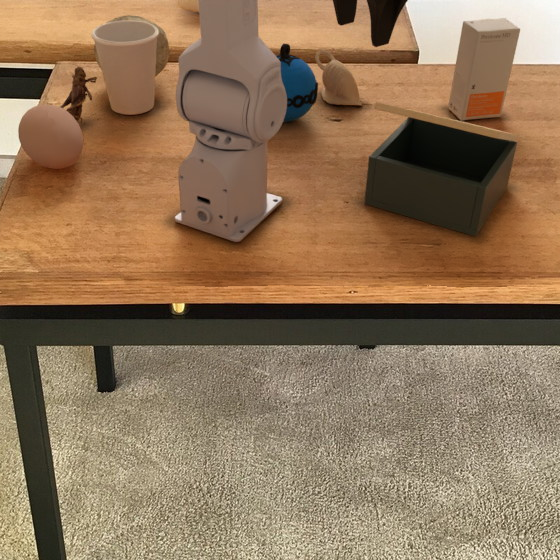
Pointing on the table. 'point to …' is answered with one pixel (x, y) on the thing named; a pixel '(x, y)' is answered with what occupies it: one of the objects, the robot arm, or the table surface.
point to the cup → (188, 5)
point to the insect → (78, 93)
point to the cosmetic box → (483, 68)
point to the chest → (439, 175)
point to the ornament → (297, 84)
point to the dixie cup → (128, 64)
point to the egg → (50, 136)
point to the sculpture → (161, 48)
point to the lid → (447, 122)
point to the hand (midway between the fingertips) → (362, 33)
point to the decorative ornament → (338, 82)
